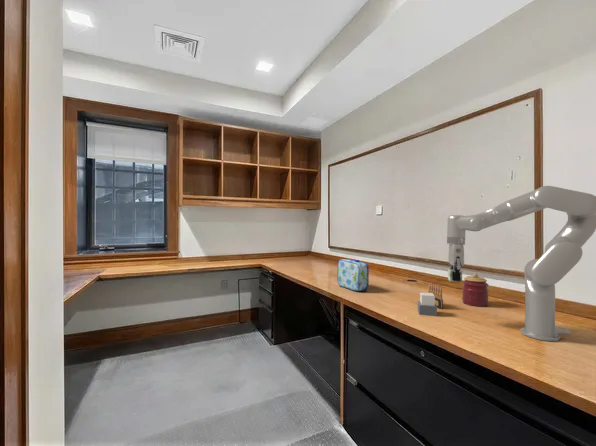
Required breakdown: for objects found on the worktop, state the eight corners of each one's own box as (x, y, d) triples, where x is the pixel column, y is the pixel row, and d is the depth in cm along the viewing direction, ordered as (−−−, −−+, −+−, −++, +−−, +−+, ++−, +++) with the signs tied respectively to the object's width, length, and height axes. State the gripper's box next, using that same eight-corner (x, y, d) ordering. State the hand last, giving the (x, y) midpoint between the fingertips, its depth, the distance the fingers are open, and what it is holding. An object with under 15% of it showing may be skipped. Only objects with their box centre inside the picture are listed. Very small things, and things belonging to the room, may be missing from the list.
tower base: (434, 312, 149) (434, 302, 149) (436, 316, 141) (436, 306, 141) (417, 310, 151) (417, 301, 151) (419, 315, 144) (419, 305, 144)
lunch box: (371, 291, 191) (371, 260, 191) (358, 293, 186) (358, 261, 186) (347, 284, 215) (347, 256, 215) (335, 285, 210) (336, 257, 210)
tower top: (432, 302, 148) (432, 293, 148) (434, 305, 143) (434, 296, 143) (420, 301, 150) (420, 292, 150) (421, 305, 144) (421, 295, 144)
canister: (473, 300, 172) (473, 271, 172) (494, 306, 160) (494, 274, 160) (456, 301, 168) (457, 272, 168) (476, 307, 156) (476, 275, 156)
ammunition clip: (443, 308, 154) (443, 286, 154) (440, 309, 153) (440, 287, 153) (429, 303, 164) (429, 282, 164) (427, 303, 164) (427, 282, 164)
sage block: (459, 280, 136) (459, 269, 136) (461, 282, 131) (462, 271, 131) (447, 279, 137) (448, 269, 137) (449, 281, 133) (450, 270, 133)
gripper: (470, 243, 125) (468, 284, 125) (460, 240, 141) (459, 276, 141) (451, 242, 127) (449, 282, 127) (443, 239, 143) (442, 275, 144)
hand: (454, 279), depth 134 cm, fingers closed on sage block, 5 cm apart
